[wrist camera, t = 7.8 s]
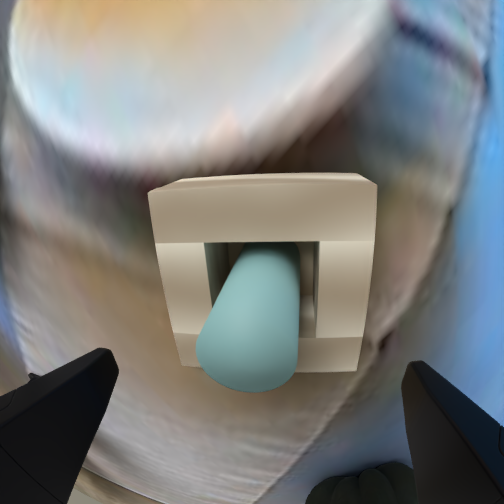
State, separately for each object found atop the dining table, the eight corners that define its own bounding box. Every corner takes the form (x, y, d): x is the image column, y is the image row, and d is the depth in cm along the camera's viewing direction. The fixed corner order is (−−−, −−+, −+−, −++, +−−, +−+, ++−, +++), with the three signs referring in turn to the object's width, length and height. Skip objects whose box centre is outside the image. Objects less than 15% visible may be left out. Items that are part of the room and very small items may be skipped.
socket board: (339, 358, 19) (346, 412, 15) (186, 353, 21) (163, 401, 16) (352, 171, 15) (377, 185, 10) (156, 179, 17) (109, 197, 12)
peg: (300, 285, 17) (296, 394, 9) (243, 285, 17) (204, 388, 10) (299, 229, 15) (298, 317, 8) (238, 230, 16) (187, 314, 9)
